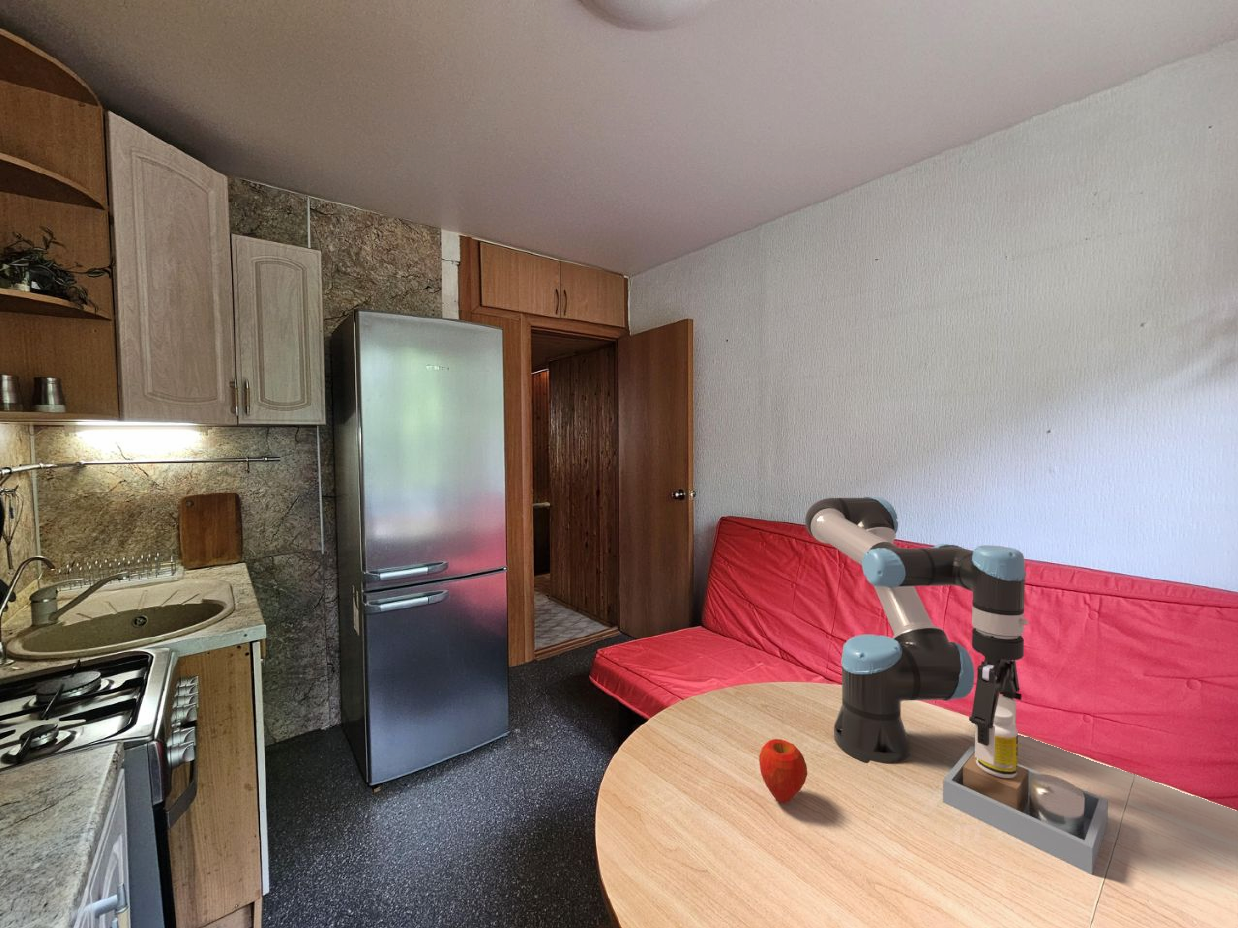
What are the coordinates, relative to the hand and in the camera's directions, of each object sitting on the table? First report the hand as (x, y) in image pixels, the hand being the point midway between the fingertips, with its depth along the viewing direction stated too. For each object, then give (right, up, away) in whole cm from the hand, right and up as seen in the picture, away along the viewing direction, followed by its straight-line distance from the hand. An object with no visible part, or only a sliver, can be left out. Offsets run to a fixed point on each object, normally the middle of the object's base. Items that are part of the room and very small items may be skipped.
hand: (996, 744), depth 91 cm
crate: (+3, -11, -3) cm, 12 cm away
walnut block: (0, -10, 0) cm, 10 cm away
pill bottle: (0, -5, 0) cm, 5 cm away
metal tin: (+5, -11, -6) cm, 13 cm away
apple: (-39, -12, +2) cm, 41 cm away
